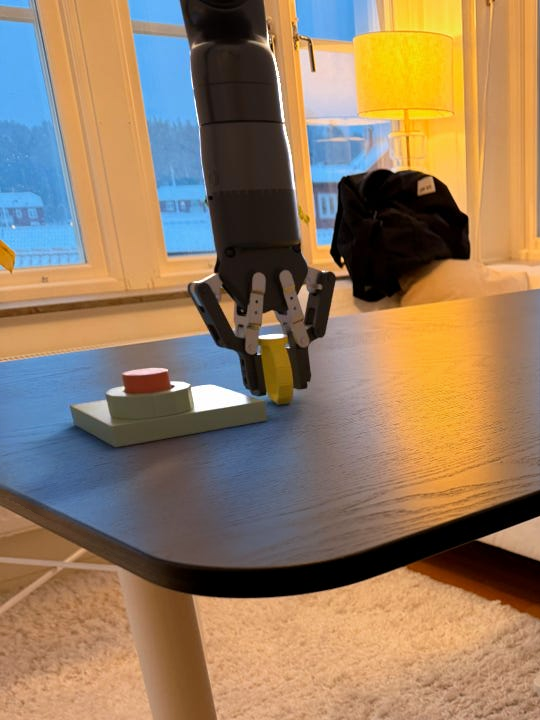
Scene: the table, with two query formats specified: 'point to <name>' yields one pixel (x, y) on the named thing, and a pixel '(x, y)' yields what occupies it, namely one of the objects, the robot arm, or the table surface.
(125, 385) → the button
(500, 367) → the table surface
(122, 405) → the console
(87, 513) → the table surface
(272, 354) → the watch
